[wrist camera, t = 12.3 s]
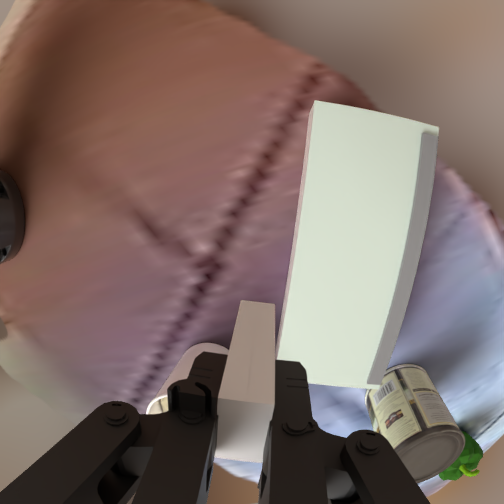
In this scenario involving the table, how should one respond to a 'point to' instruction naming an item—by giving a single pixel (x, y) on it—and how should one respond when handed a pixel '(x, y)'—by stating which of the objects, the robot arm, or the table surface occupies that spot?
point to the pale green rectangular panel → (357, 242)
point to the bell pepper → (464, 461)
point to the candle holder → (181, 374)
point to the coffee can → (415, 421)
